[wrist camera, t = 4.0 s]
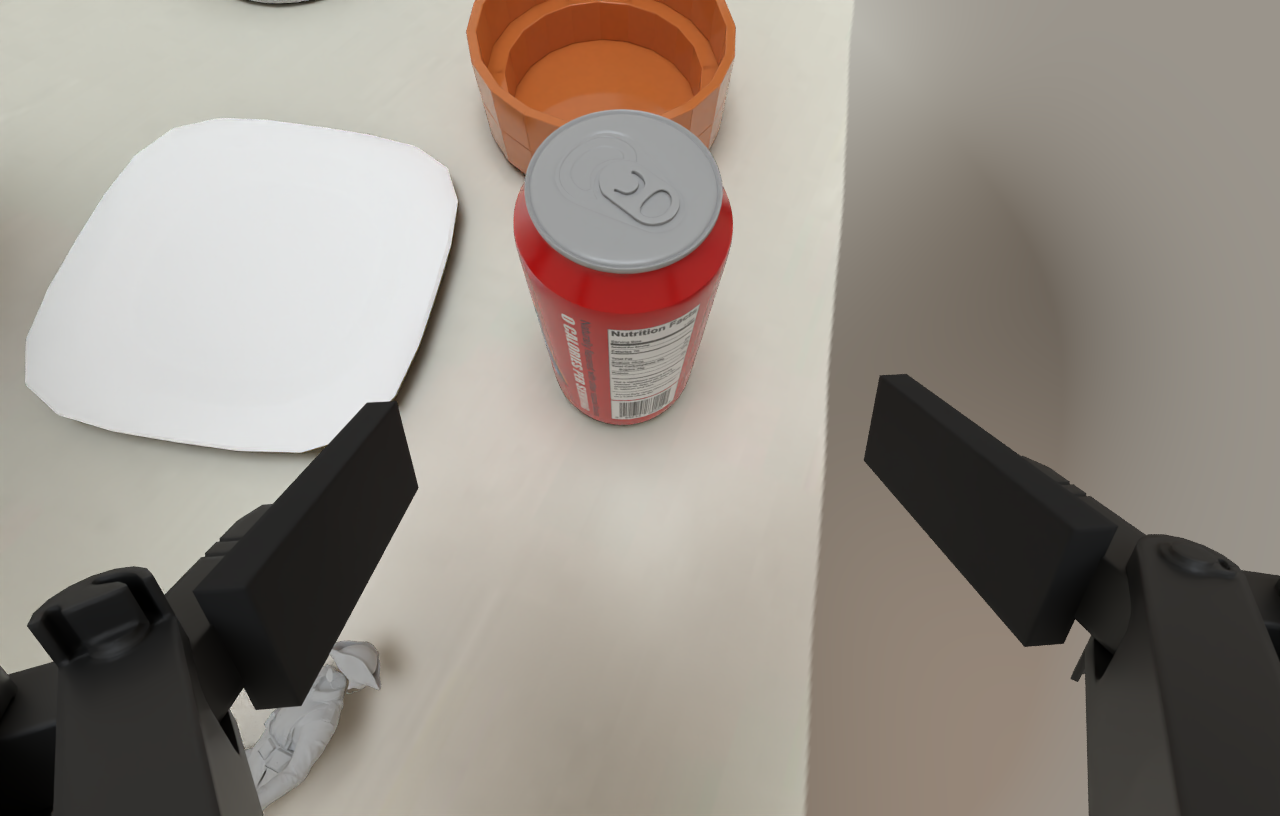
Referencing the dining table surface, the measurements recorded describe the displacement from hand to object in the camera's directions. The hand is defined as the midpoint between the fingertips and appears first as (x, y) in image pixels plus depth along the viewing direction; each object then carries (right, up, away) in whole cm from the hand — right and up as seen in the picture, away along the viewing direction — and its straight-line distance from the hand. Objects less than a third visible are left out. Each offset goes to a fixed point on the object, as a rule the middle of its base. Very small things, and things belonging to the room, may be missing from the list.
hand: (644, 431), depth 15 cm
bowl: (-3, +22, +23) cm, 32 cm away
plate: (-23, +8, +18) cm, 30 cm away
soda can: (-1, +3, +17) cm, 17 cm away
